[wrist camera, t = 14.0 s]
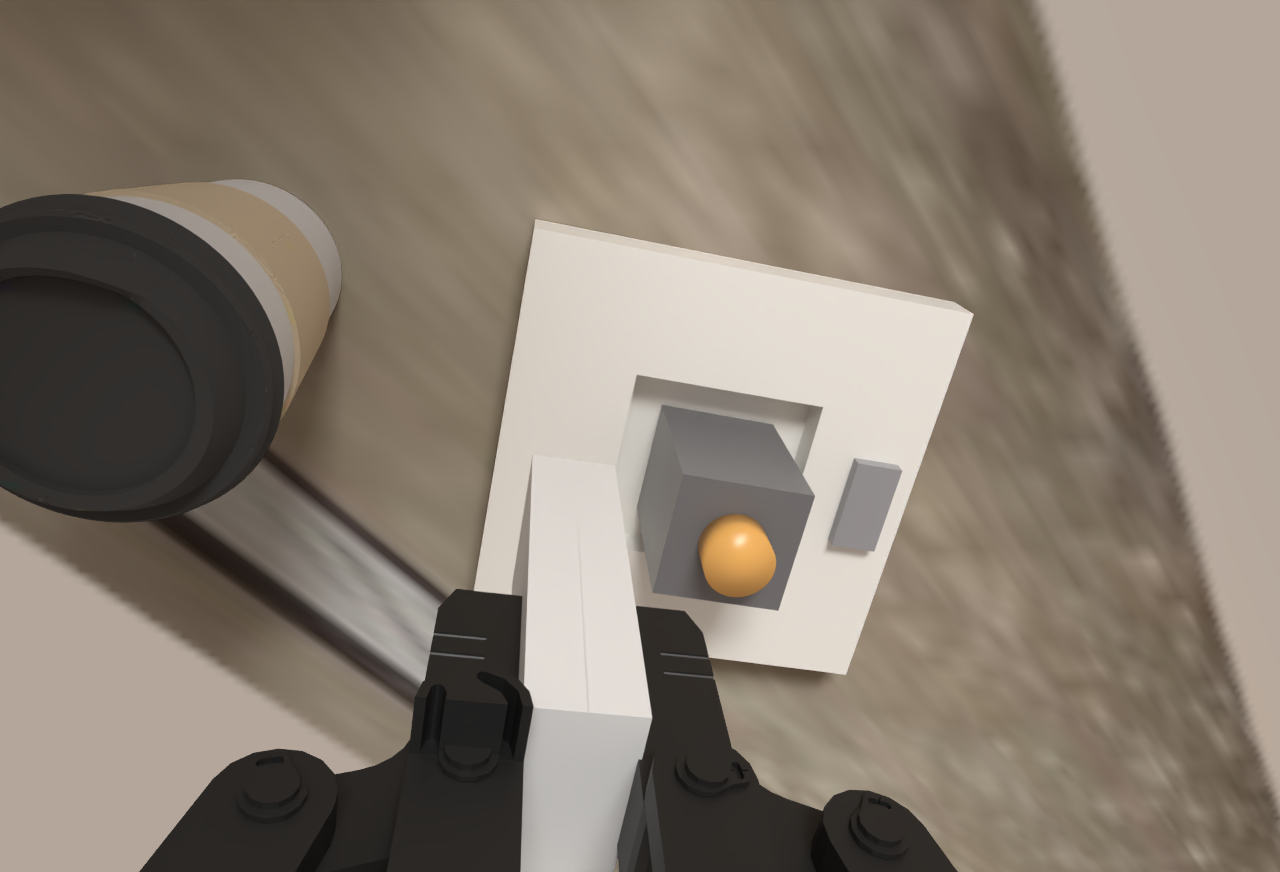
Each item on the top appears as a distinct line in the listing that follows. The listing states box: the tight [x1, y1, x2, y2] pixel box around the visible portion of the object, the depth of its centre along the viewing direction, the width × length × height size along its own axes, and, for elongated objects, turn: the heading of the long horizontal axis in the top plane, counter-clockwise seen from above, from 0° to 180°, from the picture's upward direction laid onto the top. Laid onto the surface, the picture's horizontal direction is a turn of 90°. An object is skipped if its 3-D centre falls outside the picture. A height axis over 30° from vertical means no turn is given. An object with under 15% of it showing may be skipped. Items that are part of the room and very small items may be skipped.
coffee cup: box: [0, 179, 342, 522], centre depth 29 cm, size 9×9×15 cm
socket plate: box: [474, 219, 974, 675], centre depth 40 cm, size 18×18×3 cm
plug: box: [637, 405, 815, 611], centre depth 36 cm, size 5×5×8 cm
